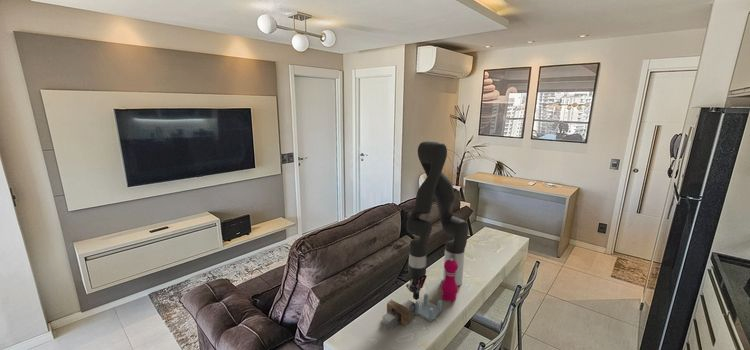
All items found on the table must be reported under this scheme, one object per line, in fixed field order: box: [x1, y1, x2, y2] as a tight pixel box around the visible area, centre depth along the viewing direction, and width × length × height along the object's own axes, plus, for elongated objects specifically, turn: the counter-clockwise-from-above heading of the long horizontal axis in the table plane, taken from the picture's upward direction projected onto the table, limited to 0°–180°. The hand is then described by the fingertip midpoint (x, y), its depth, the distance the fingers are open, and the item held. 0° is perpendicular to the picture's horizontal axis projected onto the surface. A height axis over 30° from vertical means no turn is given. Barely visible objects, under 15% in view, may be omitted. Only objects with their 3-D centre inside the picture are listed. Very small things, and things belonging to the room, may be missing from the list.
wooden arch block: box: [386, 299, 411, 327], centre depth 129 cm, size 3×10×6 cm, turn 49°
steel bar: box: [381, 299, 416, 330], centre depth 130 cm, size 16×4×4 cm, turn 133°
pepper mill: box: [440, 257, 459, 302], centre depth 141 cm, size 7×7×20 cm
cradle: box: [413, 293, 443, 322], centre depth 133 cm, size 9×8×5 cm
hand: (415, 298), depth 138 cm, fingers closed
